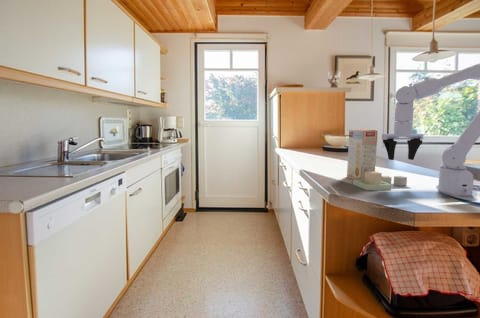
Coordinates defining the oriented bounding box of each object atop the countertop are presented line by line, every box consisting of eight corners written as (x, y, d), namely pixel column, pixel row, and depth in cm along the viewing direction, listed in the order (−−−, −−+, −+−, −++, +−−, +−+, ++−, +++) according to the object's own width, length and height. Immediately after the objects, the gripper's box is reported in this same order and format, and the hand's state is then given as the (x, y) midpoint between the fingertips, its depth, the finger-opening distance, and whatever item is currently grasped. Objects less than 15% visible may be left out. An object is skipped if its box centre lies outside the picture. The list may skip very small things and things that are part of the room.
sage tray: (390, 191, 108) (391, 184, 108) (366, 192, 108) (366, 185, 107) (375, 185, 118) (375, 179, 118) (352, 186, 117) (353, 179, 117)
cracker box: (375, 185, 118) (378, 130, 116) (359, 185, 118) (362, 130, 116) (360, 178, 132) (363, 128, 130) (346, 178, 132) (348, 128, 129)
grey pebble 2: (406, 185, 115) (406, 177, 115) (400, 185, 114) (401, 177, 114) (399, 183, 118) (399, 175, 118) (393, 184, 117) (394, 176, 116)
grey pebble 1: (390, 185, 115) (391, 177, 114) (382, 185, 115) (382, 177, 115) (387, 183, 118) (388, 176, 117) (379, 183, 118) (380, 175, 117)
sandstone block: (380, 188, 110) (381, 173, 110) (369, 188, 110) (370, 173, 109) (374, 186, 114) (375, 171, 114) (364, 186, 114) (365, 171, 113)
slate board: (412, 190, 110) (412, 188, 110) (391, 190, 110) (392, 188, 109) (398, 185, 118) (398, 183, 118) (379, 186, 117) (379, 184, 117)
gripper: (415, 121, 116) (412, 158, 118) (378, 121, 115) (376, 158, 116) (428, 121, 109) (425, 160, 111) (389, 121, 108) (386, 160, 109)
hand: (400, 159), depth 113 cm, fingers open, 7 cm apart
